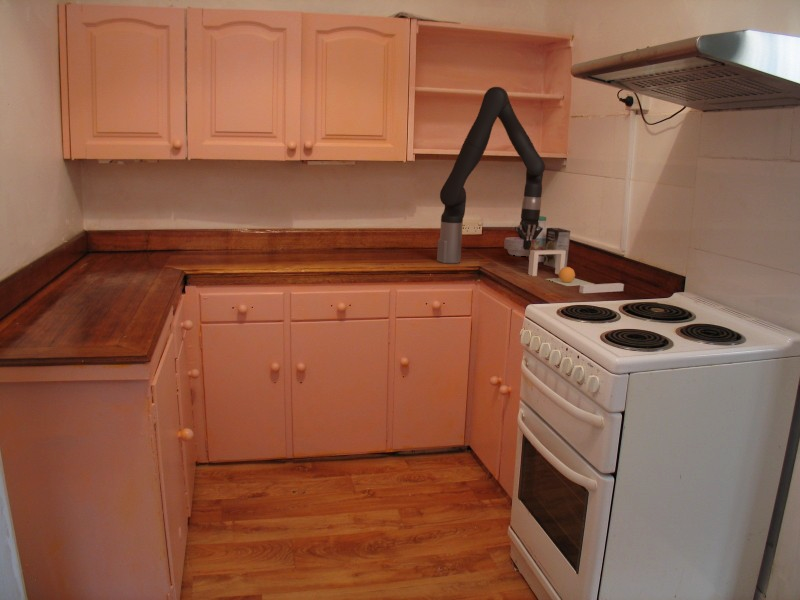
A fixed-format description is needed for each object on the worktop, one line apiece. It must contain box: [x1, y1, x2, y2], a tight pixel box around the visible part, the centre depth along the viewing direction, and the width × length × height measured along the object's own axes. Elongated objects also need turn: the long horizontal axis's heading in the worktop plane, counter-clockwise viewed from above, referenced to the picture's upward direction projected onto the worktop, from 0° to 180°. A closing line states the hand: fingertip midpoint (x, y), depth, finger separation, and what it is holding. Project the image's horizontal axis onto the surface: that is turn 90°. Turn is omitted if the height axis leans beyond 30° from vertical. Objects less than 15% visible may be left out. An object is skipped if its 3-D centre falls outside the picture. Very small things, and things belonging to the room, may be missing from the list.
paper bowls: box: [503, 236, 529, 257], centre depth 318 cm, size 15×15×8 cm
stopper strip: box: [578, 282, 625, 294], centre depth 239 cm, size 18×2×2 cm, turn 114°
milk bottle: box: [528, 215, 547, 263], centre depth 300 cm, size 8×8×20 cm
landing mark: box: [545, 277, 595, 287], centre depth 256 cm, size 13×13×1 cm
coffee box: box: [543, 227, 571, 269], centre depth 289 cm, size 9×6×16 cm
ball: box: [558, 266, 576, 283], centre depth 253 cm, size 6×6×6 cm
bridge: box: [527, 250, 566, 277], centre depth 268 cm, size 3×15×10 cm, turn 114°
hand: (526, 249), depth 280 cm, fingers closed
